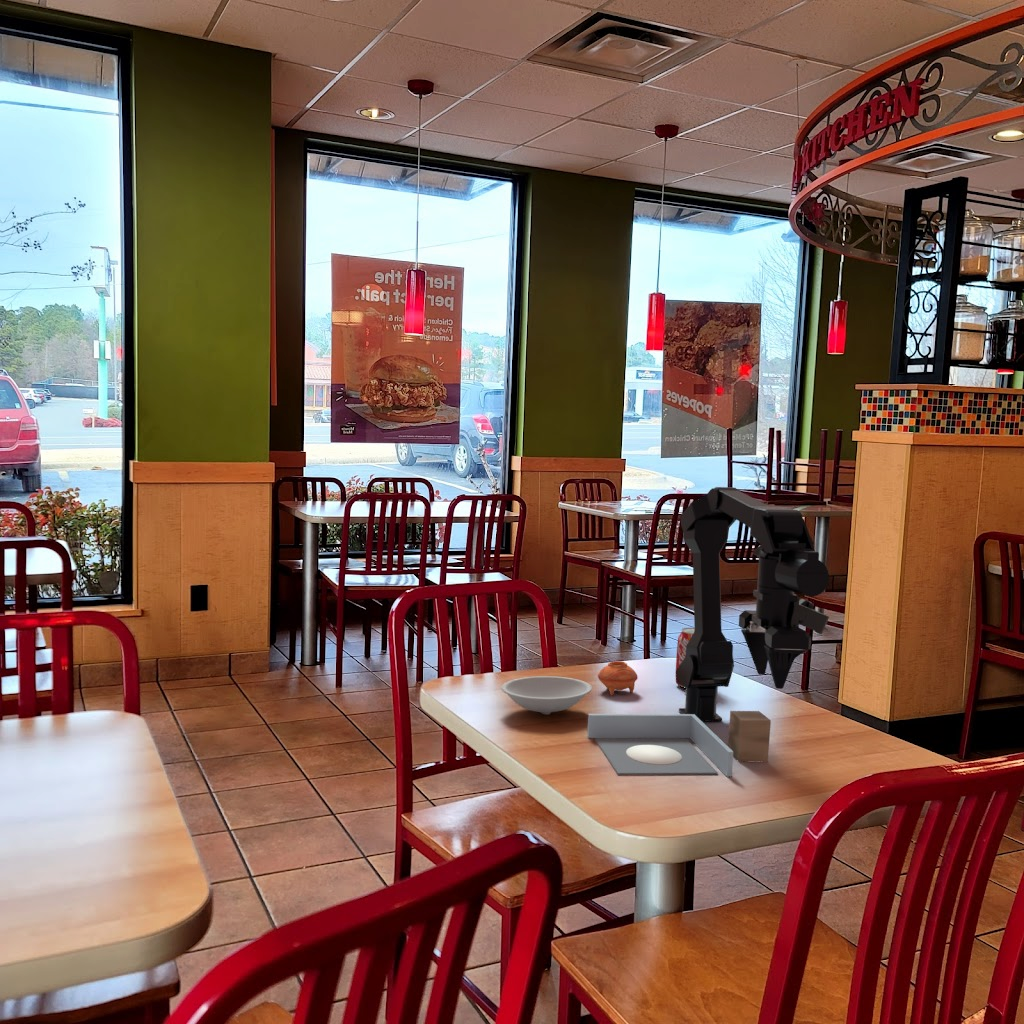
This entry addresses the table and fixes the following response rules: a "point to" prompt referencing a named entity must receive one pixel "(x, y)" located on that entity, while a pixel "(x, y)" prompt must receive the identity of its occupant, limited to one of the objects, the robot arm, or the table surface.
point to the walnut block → (749, 735)
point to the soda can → (683, 646)
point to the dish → (546, 692)
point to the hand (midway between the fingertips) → (770, 681)
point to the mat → (654, 756)
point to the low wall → (663, 732)
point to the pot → (618, 676)
